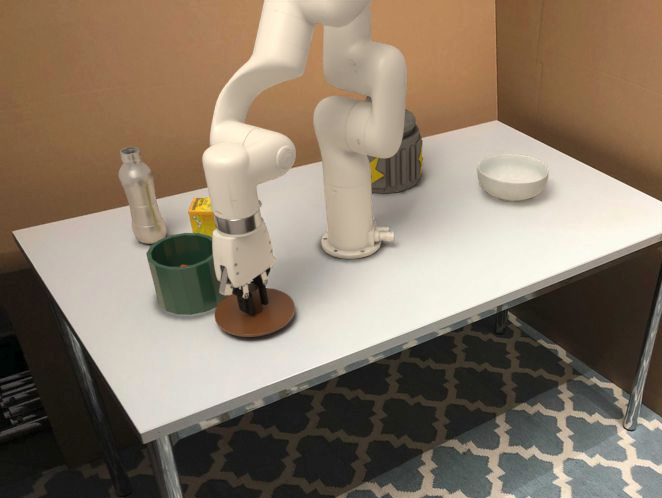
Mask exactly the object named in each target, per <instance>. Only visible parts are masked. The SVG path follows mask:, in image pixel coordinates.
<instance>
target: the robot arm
mask: <svg viewBox="0 0 662 498" xmlns="http://www.w3.org/2000/svg"><path fill="white" fill-rule="evenodd" d="M374 1H375V0H263V5H262V9H261V13H260V18H259V24H258V26H257V27H258V28H257V33H256V36H255V42H254V46H253V51H252V54H251V55H250V58H249V59H248V60H247V61H246V62H245V63H243V65H242V66H241V67H239V68H238V70H237V71H236V72H234V74H233V75H232V76H231V78H230V79H228V81H227V82H226V83H225V85H224V86H223V88H222V89H221V91H220V93H219V95H218V97H217V99H216V102H215V106H214V109H213V115H212V120H211V125H210V131H209V147H207V149H205V150H204V151H203V154H202V158H201V162H202V167H203V172H204V177H205V183H206V186H207V187H206V188H207V191H208V197H210V201H211V206H212V211H213V216H214V221H215V225H216V230H214V231H213V237H212V249H213V259H214V267H215V273H216V277H217V280H218V281H221V284H220V289H219V293H220V294H223V295H225V296H226V297H228V296H230V295H236V296H237V300H238V305H239V309H240V310H241V311H243V312H245V313H247V314H250V315H253V314H255V310H254V304H253V299H252V296H250V295H249V291H248V284H249V282H250V283H255V284H257V285H258V286H259V291H260V296H261V302H262V304H263V305H267V304H268V303H269V302H268V297H267V291H266V288H267V287H266V286H267V285H268V283H269V278H268V277H269V275H270V273H271V269H272V268H273V266H274V265H275V264H276V262H277V258H276V257H275V256H274V249H273V244H272V241H271V236H270V233H269V229H268V227H267V225H266V224H267V223H266V221H265V219H264V218H263V216H262V214H261V207H262V206H263V202H262V201H261V200H260V199H259V195H258V188H257V187H258V186H259V185H261V184H264V183H267V182H270V181H273V180H277V179H278V178H281V177H282V176H284V175H286V174H287V173H289V171H290V170H291V169H292V167H293V166H294V164H295V162H296V157H297V149H296V146H295V144H294V142H293V141H292V140H291V139H290V137H288V136H287V135H286V134H285V135H284V134H283V133H281V132H278V131H274V130H271V129H267V128H264V127H263V128H262V127H260V126H255V125H251V124H248V123H246V119H247V115H248V112H249V110H250V108H251V106H252V104H253V102H254V101H255V100H256V99H257V98H258V96H259V95H260V94H261V93H263V92H265V91H266V90H268V89H270V88H272V87H274V86H276V85H280V84H282V83H285V82H288V81H293V80H295V79H297V78H300V77H301V76H303V75H304V74H305V71H306V68H307V63H308V59H309V54H310V49H311V45H312V40H313V36H314V31H315V28H316V25H321V26H323V27H322V29H323V30H322V31H323V33H322V35H323V36H322V72H323V77H324V79H325V82H326V83H327V84H328V85H330V86H331V87H333V88H335V89H337V90H341V91H344V92H348V93H352V94H357V95H361V96H366V97H367V96H370V97H371V99H372V103H369V102H365V100H361V99H357V98H352V97H348V96H343V95H330V96H327V97H324V98H323V99H321V100H320V101H319V102H318V103H317V105H316V106H315V108H314V112H313V118H312V120H313V121H312V124H313V129H314V134H315V138H316V141H317V144H318V148H319V153H320V159H321V165H322V175H323V188H324V199H325V200H324V201H325V212H326V214H325V215H326V222H327V223H326V224H327V225H326V226H327V232H325V233H324V234H323V235H322V237H321V240H320V244H321V248H322V250H323V251H324V252H325V253H326V254H327V255H330V256H331V257H333V258H334V257H335V258H337V259H344V260H356V259H362V258H365V257H369V256H371V255H373V254H374V253H376V252H377V251H378V250H379V249H380V247H381V246H382V241H386V242H395V231H390V226H379V225H377V223H376V219H374V216H373V192H372V189H371V168H370V163H369V160H368V157H367V155H369V156H373V157H377V158H390V157H392V156H394V155H395V154H396V153H397V151H398V150H399V147H400V145H401V142H402V138H403V131H404V120H405V109H406V105H407V93H408V66H407V61H406V58H405V56H404V54H403V53H402V52H401V50H400V49H398V47H395V46H394V45H392V44H388V43H384V42H378V41H375V40H373V39H372V8H371V4H372V3H373V2H374Z"/></svg>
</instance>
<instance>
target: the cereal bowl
mask: <svg viewBox="0 0 662 498" xmlns="http://www.w3.org/2000/svg"><path fill="white" fill-rule="evenodd" d="M476 170H477V172H476V173H477V180H478V182H479V184H480V186H481V189H483V190H484V192H486V193H487V194H488V195H490V196H493V197H495V198H497V199H499V200H501V201H504V202H509V203H512V202H513V203H516V202H517V203H518V202H522V201H524V200H528V199H531V198H534V197H536V196H537V195H539V194H540V193H541V192H543V190H544V189H545V187H546V186H547V184H548V180H549V175H550V169H549V167H548V166H547V165H546V163H544V162H543V161H542V160H540V159H538V158H536V157H533V156H529V155H525V154H520V153H497V154H493V155H489V156H487V157H484V158H482V159H481V160H479V162H478V163H477V168H476Z"/></svg>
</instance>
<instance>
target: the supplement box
mask: <svg viewBox="0 0 662 498" xmlns="http://www.w3.org/2000/svg"><path fill="white" fill-rule="evenodd" d="M187 211H188V212H187V213H188V216H189V221H190V227H191V231H192V232H191V233H200V234H204V235H208V236H211V237H213V231H214V230H216V225H215V221H214V216H213V211H212V206H211V201H210V197H209V196H208V197H203V196H202V197H200V196H199V197H198V196H197V197H196V196H195V197H193V198H192V201H191V204H190V205H189V208H188V210H187Z"/></svg>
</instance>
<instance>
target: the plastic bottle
mask: <svg viewBox="0 0 662 498" xmlns="http://www.w3.org/2000/svg"><path fill="white" fill-rule="evenodd" d="M119 154H120V161H121V162H122V164H121V166H120V168H119V170H118V174H117V175H118V176H117V177H118V181H119V184H120V186H121V188H122V190H123V192H124V194H125V197H126V200H127V202H128V203H127V204H128V207H129V211H130V216H131V229H132V233H133V235H134V237H135V238H136V240H138V242H140V243H141V244H147V245H149V244H154V243H156V242H157V241H158V240H160V239H163V238H166V237H167V224H166V223H165V219H164V218H163V216H162V214H161V211H160V208H159V204H158V201H157V196H156V195H157V194H156V191H155V190H156V189H155V179H154V178H155V177H154V173H153V171H152V169H151V168H150V166H148V164H147V163H146V162H144V161H143V155H142V153H141V150H140V148H139V147H136V146H126V147H123V148H121V149H120V150H119Z"/></svg>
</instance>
